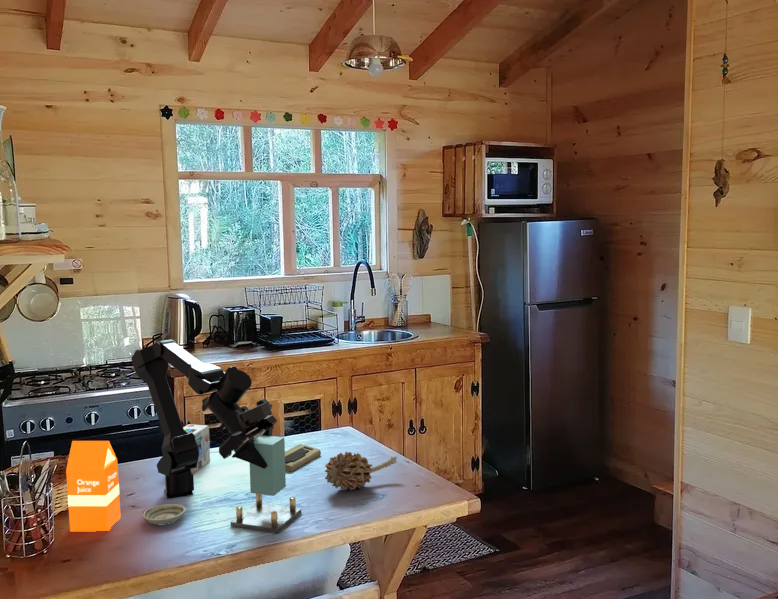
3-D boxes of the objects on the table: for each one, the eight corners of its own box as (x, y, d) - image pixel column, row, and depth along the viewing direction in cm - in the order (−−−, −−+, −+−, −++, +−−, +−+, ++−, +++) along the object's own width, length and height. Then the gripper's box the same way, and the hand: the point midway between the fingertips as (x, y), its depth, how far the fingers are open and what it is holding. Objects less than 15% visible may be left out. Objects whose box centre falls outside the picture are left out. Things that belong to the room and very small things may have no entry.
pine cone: (338, 501, 185) (337, 463, 184) (316, 490, 193) (316, 453, 191) (406, 480, 199) (405, 444, 198) (383, 471, 206) (383, 436, 205)
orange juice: (84, 517, 177) (79, 435, 175) (121, 517, 177) (116, 435, 175) (69, 531, 169) (63, 446, 167) (107, 532, 169) (102, 446, 167)
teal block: (273, 495, 171) (272, 444, 169) (250, 492, 173) (248, 442, 171) (285, 486, 177) (284, 437, 175) (263, 484, 178) (261, 435, 177)
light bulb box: (194, 473, 206) (192, 435, 205) (172, 472, 208) (170, 434, 207) (211, 460, 217) (209, 424, 216) (189, 459, 218) (188, 423, 217)
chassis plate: (277, 533, 167) (276, 515, 167) (230, 526, 171) (230, 509, 171) (301, 513, 178) (301, 496, 178) (257, 507, 182) (256, 490, 182)
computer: (291, 473, 207) (291, 462, 206) (267, 469, 210) (267, 458, 210) (321, 457, 221) (321, 446, 220) (298, 453, 224) (297, 442, 224)
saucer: (186, 510, 181) (186, 501, 181) (185, 527, 172) (185, 516, 171) (144, 515, 179) (144, 505, 178) (141, 532, 169) (141, 521, 169)
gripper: (228, 400, 164) (275, 453, 162) (268, 382, 182) (311, 429, 180) (199, 432, 168) (244, 484, 166) (241, 411, 185) (282, 458, 183)
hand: (272, 462), depth 173 cm, fingers closed on teal block, 6 cm apart
